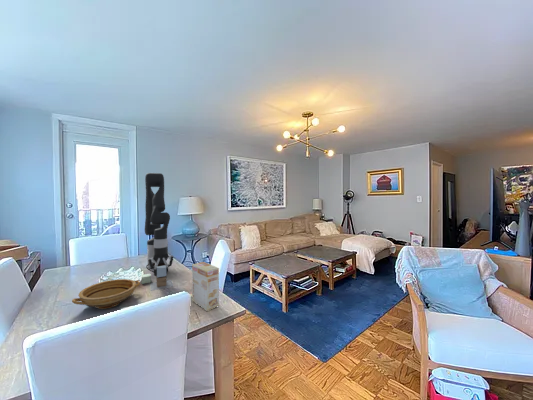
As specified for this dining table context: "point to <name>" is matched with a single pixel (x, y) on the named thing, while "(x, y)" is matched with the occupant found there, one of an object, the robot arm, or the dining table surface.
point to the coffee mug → (154, 265)
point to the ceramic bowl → (106, 293)
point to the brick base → (161, 281)
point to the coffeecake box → (205, 285)
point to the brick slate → (161, 271)
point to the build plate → (154, 286)
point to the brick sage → (146, 278)
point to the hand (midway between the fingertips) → (161, 274)
